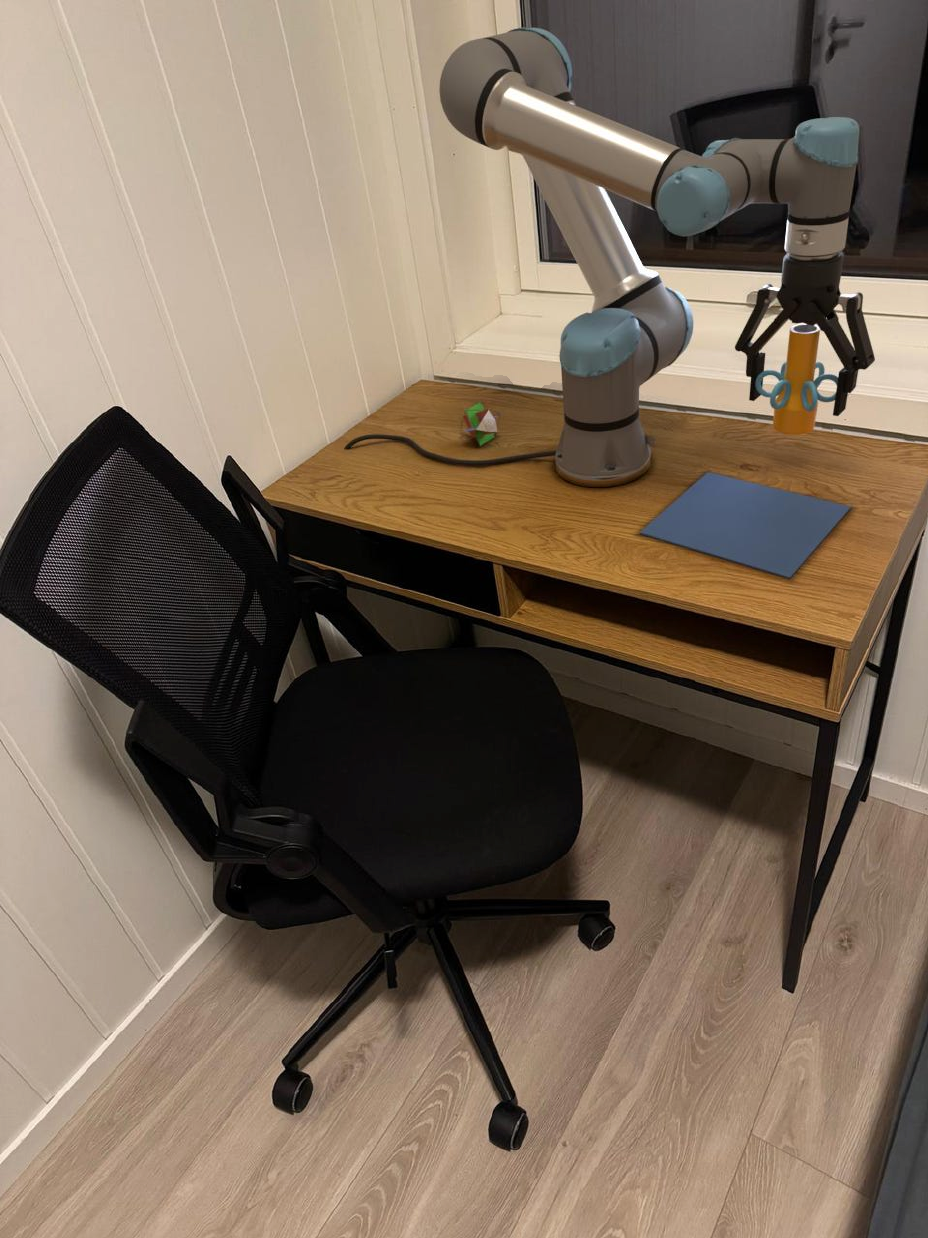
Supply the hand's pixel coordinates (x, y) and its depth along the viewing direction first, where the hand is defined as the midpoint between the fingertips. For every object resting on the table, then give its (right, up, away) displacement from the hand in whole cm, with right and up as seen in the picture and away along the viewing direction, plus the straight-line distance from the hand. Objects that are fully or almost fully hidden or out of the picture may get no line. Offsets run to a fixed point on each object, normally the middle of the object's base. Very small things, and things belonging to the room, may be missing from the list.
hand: (796, 404), depth 127 cm
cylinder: (0, -3, +2) cm, 4 cm away
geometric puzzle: (-46, 0, +25) cm, 52 cm away
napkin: (-10, -18, -6) cm, 21 cm away
